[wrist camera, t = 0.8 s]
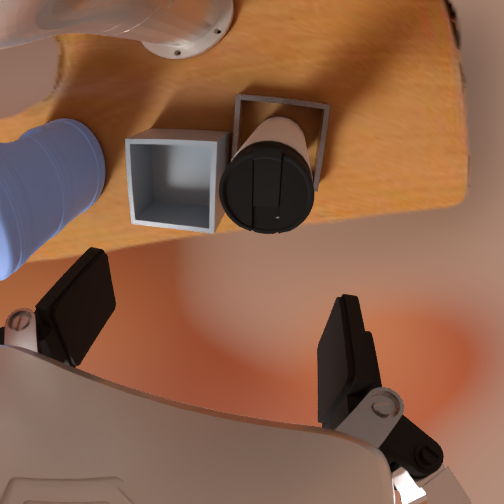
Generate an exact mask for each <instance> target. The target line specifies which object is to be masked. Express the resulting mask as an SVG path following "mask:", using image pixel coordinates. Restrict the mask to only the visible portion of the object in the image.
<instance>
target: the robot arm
mask: <svg viewBox="0 0 504 504" xmlns="http://www.w3.org/2000/svg"><path fill="white" fill-rule="evenodd" d="M233 15H234V3H233V0H0V49H5V48H9V47H14V46H18V45H22V44H26V43H29V42H33V41H36V40H40V39H43V38H47V37H51V36H55V35H60V34H70V33H82V34H95V35H103V36H111V37H118V38H125V39H131V40H137V41H140V42H141V43H142V44H143V46H144V47H145V48H146V49H147V50H149V51H150V52H151V53H153V54H155V55H157V56H160V57H164V58H168V59H186V58H192V57H194V56H197V55H200V54H202V53H204V52H206V51H208V50H210V49H211V48H212V47H213V46H215V45H216V44H217V43H218V42H219V41H220V40H221V39H222V38H223V37H224V35H225V34H226V33H227V31H228V30H229V27H230V25H231V23H232V20H233ZM219 30H221V33H220V34H218V33H217V32H218V31H219ZM179 52H181V54H180V55H178V53H179ZM115 306H116V301H115V296H114V291H113V285H112V281H111V274H110V268H109V263H108V256H107V254H105V252H104V250H102V249H98V248H93V247H90V248H89V249H88V250H87V251H86V252H85V253H84V254H83V255H82V256H81V257H80V258H79V259H78V260H77V261H76V262H75V263H74V264H73V265H72V266H71V267H70V268H69V269H68V271H67V272H66V273H65V274H64V275H63V276H62V277H61V278H60V279H59V280H58V281H57V282H56V284H55V285H54V286H53V287H52V288H51V289H50V290H49V291H48V292H47V293H46V295H45V296H44V297H43V298H42V299H41V300H40V301H39V303H38V304H37V305H36V306H35V307H36V310H35V312H33V311H32V310H31V309H28V308H20V309H17V310H15V311H13V312H12V313H11V314H10V315H9V316H8V317H7V319H6V322H5V327H2V328H0V504H395V495H394V490H398V492H399V493H400V495H401V496H402V498H401V499H400V500H401V501H402V503H403V504H471V501H470V499H469V497H468V496H467V494H466V492H465V491H464V490H463V488H462V486H461V485H460V483H459V482H458V480H457V479H456V477H455V476H454V475H453V473H452V472H451V470H450V469H449V467H446V468H445V467H444V465H443V464H442V463H443V457H444V456H443V451H442V449H441V447H440V446H439V445H438V443H437V442H435V441H434V440H433V439H432V438H431V437H429V436H428V435H427V434H425V433H424V432H423V431H422V430H421V429H419V428H418V427H417V426H416V425H415V424H413V423H412V422H411V421H410V420H409V419H407V418H406V417H405V416H404V415H403V411H404V404H403V401H402V399H401V397H400V396H399V395H398V394H397V393H396V392H395V391H393V390H391V389H389V388H385V387H382V384H381V379H380V373H379V368H378V362H377V356H376V351H375V346H374V342H373V337H372V334H371V332H369V331H365V329H364V324H363V319H362V314H361V309H360V304H359V300H358V297H357V296H353V295H347V294H343V295H342V297H337V298H336V301H335V303H334V306H333V309H332V311H331V314H330V317H329V320H328V322H327V324H326V327H325V329H324V332H323V334H322V337H321V339H320V341H319V344H318V349H317V360H318V422H320V423H322V428H320V427H314V426H307V425H300V424H292V423H284V422H277V421H271V420H265V419H258V418H253V417H247V416H241V415H236V414H230V413H225V412H220V411H215V410H211V409H206V408H202V407H198V406H193V405H189V404H185V403H181V402H177V401H174V400H170V399H166V398H162V397H159V396H155V395H152V394H149V393H145V392H142V391H139V390H136V389H132V388H129V387H126V386H123V385H120V384H117V383H114V382H111V381H109V380H106V379H103V378H100V377H97V376H95V375H92V374H89V373H87V372H84V371H81V370H79V369H77V368H75V367H76V366H78V365H80V363H81V362H82V360H83V358H84V357H85V355H86V354H87V352H88V350H89V349H90V347H91V345H92V344H93V342H94V341H95V339H96V338H97V336H98V334H99V333H100V331H101V330H102V328H103V327H104V325H105V324H106V322H107V320H108V319H109V317H110V316H111V314H112V313H113V311H114V310H115Z"/></svg>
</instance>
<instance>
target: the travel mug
mask: <svg viewBox="0 0 504 504" xmlns="http://www.w3.org/2000/svg"><path fill="white" fill-rule="evenodd" d="M219 198H220V202H221V205H222V207H223V209H224V211H225V212H226V214H227V216H228V217H229V218H230V219H231V220H232V221H233V222H234V223H236V224H237V225H238V226H239V227H242V228H244V229H247V230H249V231H251V230H253V231H255V232H258V233H264V234H274V233H276V232H278V233H282V232H287V231H291V230H292V229H294V228H296V227H297V226H299V225H300V224H301V223H302V222H303V221H304V220H305V219H306V218H307V216H308V215H309V213H310V211H311V209H312V206H313V202H314V186H313V176H312V171H311V166H310V161H309V156H308V151H307V146H306V141H305V137H304V133H303V131H302V129H301V127H300V126H299V125H298V124H297V123H296V122H295V121H293V120H292V119H290V118H287V117H282V116H275V117H270V118H268V119H266V120H264V121H263V122H262V123H261V124H260V125H259V126H258V127H257V128H256V130H255V131H254V132H253V133H252V134H251V136H250V137H249V138H248V139H247V141H246V142H245V143H244V144H243V146H242V147H241V148H240V149H239V151H238V152H237V153H236V154H235V156H234V157H233V159H232V160H231V162H230V163H229V165H228V166H227V167H226V169H225V171H224V172H223V174H222V176H221V179H220V183H219Z"/></svg>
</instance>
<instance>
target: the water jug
mask: <svg viewBox="0 0 504 504" xmlns="http://www.w3.org/2000/svg"><path fill="white" fill-rule="evenodd" d="M104 182H105V160H104V155H103V152H102V149H101V146H100V144H99V142H98V140H97V139H96V137H95V136H94V134H93V133H92V132H91V131H90V129H89V128H87V127H86V126H85V125H84V124H82V123H81V122H79V121H76V120H74V119H69V118H61V119H57V120H53V121H50V122H48V123H46V124H44V125H41V126H38V127H35V128H33V129H30V130H28V131H27V132H25V133H24V134H23V135H22V136H21V137H20V138H19V139H18V140H16V141H14V142H10V143H0V280H4V279H6V278H7V277H9V276H10V275H11V274H12V273H14V272H15V271H16V270H18V269H19V268H20V267H21V266H22V265H23V264H24V263H25V262H26V261H27V260H28V258H29V257H30V256H31V255H32V254H33V253H34V252H35V251H36V250H38V249H39V248H40V247H41V246H42V245H43V244H44V243H45V242H47V241H48V240H49V239H51V238H52V237H54V236H55V235H56V234H58V233H59V232H60V231H61V230H62V229H63V228H64V227H65V226H66V225H67V224H68V223H69V222H70V221H72V220H73V219H74V218H75V217H77V216H78V215H79V214H81V213H83V212H84V211H86V210H87V209H88V208H90V207H91V206H92V205H93V204H94V203H95V202H96V201H97V199H98V198H99V196H100V194H101V192H102V189H103V186H104Z"/></svg>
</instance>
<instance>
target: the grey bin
mask: <svg viewBox="0 0 504 504" xmlns="http://www.w3.org/2000/svg"><path fill="white" fill-rule="evenodd" d="M229 146H230V131H218V130H199V129H165V128H150V129H148V130H145V131H143V132H141V133H138V134H136V135H133V136H131V137H129V138H126V139H125V149H126V167H127V181H128V194H129V204H130V214H131V223H132V224H138V225H146V226H155V227H163V228H171V229H179V230H188V231H196V232H204V233H212V234H214V233H215V231H216V229H217V227H218V225H219V223H220V221H221V219H222V217H223V215H224V213H225V211H224V209H223V207H222V205H221V202H220V198H219V183H220V179H221V176H222V174H223V172H224V171H225V169H226V167H227V166H228V164H229Z"/></svg>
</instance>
